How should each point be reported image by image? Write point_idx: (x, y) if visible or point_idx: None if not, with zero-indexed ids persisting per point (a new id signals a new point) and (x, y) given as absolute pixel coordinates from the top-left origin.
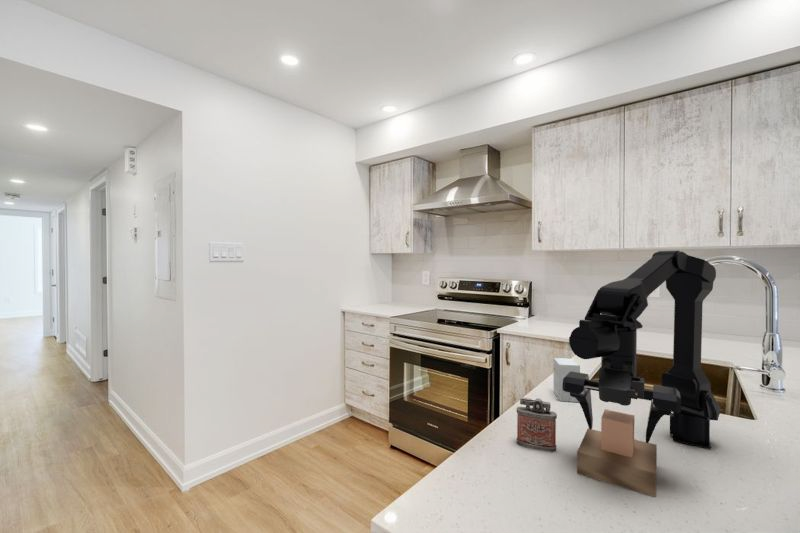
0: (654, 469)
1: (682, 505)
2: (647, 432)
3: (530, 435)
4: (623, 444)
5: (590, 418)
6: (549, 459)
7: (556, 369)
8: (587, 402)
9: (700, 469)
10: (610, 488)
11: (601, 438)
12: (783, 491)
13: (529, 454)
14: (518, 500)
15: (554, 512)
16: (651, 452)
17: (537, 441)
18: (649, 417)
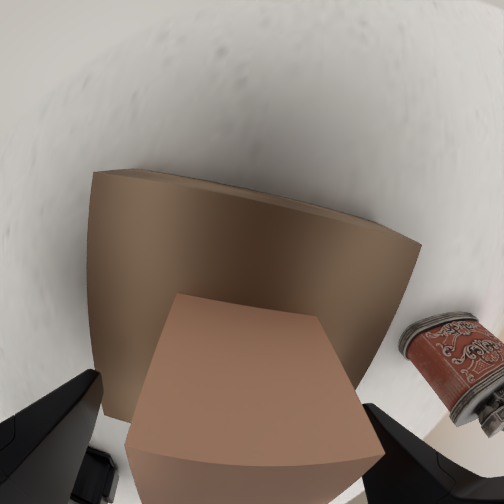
0: (94, 211)
1: (73, 162)
2: (65, 404)
3: (476, 331)
4: (215, 334)
5: (397, 441)
6: (430, 276)
7: None
8: (466, 500)
9: (48, 372)
10: (278, 160)
11: (333, 351)
12: None
13: (464, 278)
14: (476, 57)
15: (418, 18)
16: (108, 365)
17: (456, 327)
18: (4, 476)
